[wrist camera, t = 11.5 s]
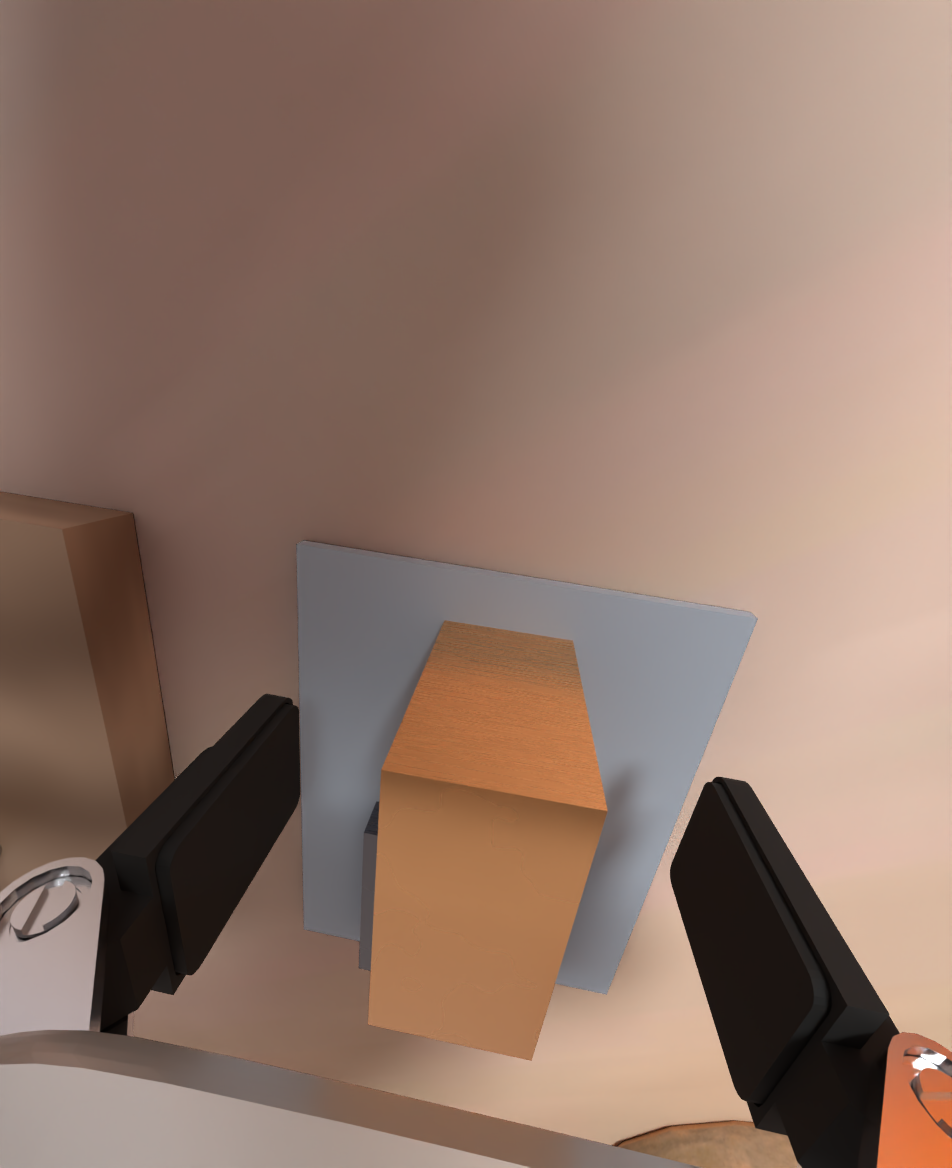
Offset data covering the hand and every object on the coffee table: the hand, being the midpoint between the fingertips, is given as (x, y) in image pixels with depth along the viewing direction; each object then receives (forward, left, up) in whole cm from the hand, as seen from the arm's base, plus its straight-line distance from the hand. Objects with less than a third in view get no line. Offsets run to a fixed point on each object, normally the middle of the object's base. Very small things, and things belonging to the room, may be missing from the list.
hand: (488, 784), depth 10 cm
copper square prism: (+4, 0, -3) cm, 5 cm away
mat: (+4, 0, -3) cm, 5 cm away
